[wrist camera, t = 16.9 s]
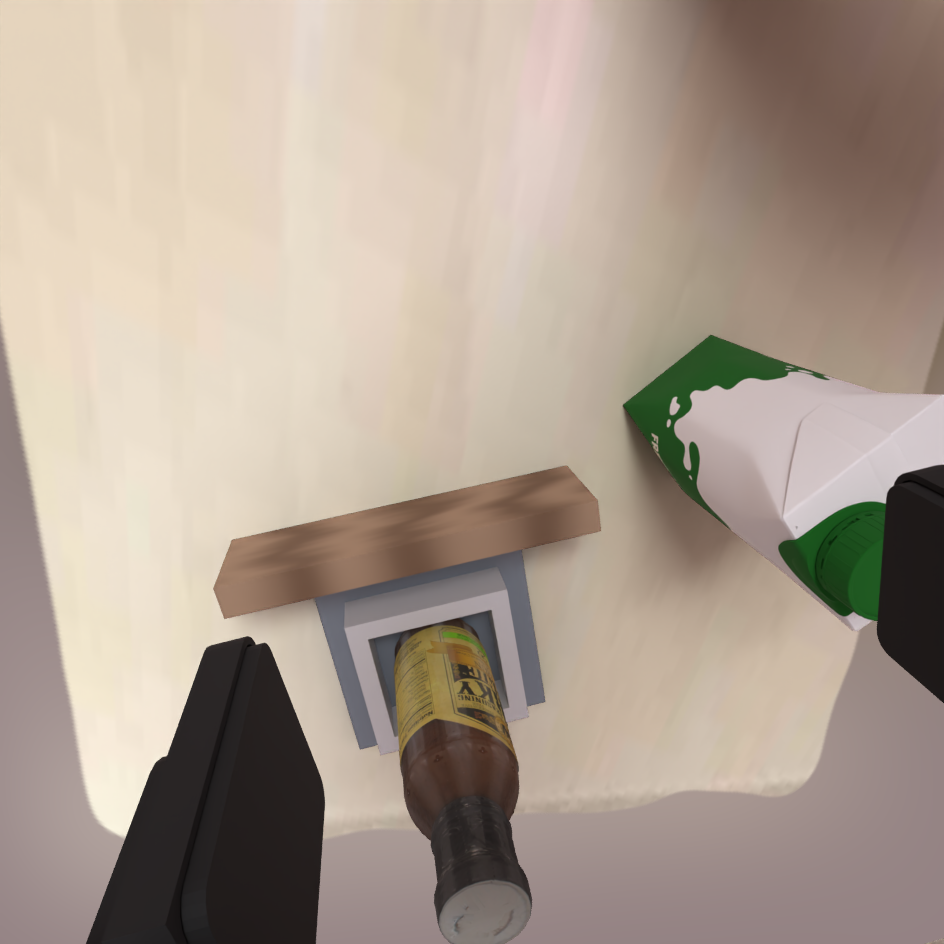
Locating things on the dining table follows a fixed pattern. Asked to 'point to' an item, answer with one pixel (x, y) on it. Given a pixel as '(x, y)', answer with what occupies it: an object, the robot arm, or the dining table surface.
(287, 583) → the walnut wall
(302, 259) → the dining table surface
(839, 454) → the milk carton
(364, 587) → the holder
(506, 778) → the sauce bottle
